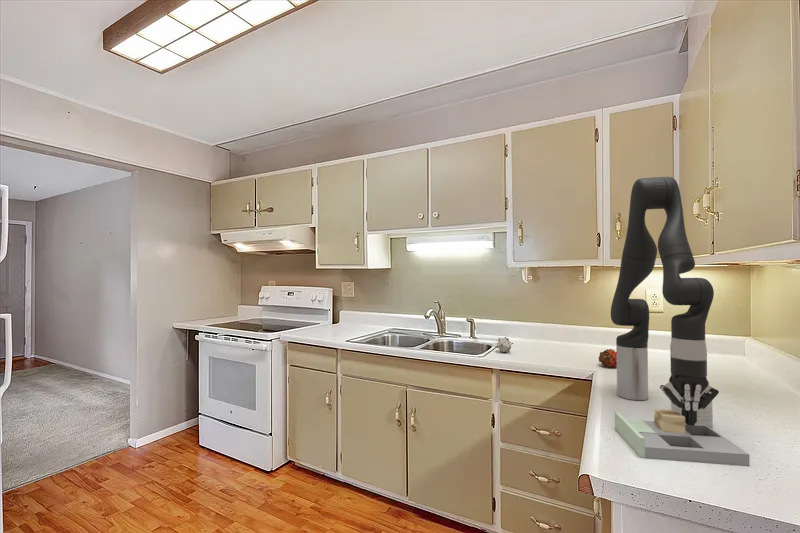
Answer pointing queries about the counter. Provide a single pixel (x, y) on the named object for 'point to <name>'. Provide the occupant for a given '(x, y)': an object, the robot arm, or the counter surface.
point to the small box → (698, 412)
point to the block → (669, 421)
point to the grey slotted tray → (679, 443)
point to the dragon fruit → (608, 358)
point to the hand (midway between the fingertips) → (689, 423)
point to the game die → (504, 345)
